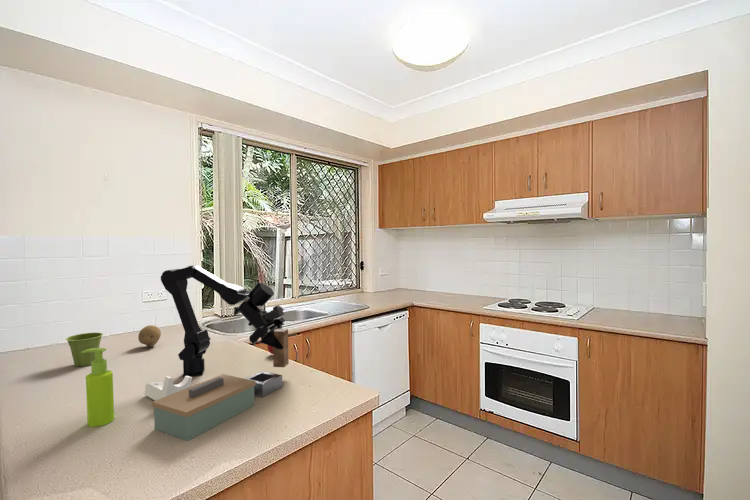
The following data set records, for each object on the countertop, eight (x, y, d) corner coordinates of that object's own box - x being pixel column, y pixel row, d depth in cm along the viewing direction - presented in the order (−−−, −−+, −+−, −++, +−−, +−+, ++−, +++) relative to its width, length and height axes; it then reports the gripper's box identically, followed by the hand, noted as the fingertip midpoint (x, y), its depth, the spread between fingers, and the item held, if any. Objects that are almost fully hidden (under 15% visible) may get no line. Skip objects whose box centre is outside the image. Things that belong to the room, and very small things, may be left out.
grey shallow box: (241, 392, 123) (241, 379, 123) (262, 382, 131) (261, 371, 131) (262, 397, 119) (262, 384, 119) (282, 387, 127) (282, 375, 127)
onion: (278, 357, 159) (277, 338, 159) (265, 356, 160) (264, 337, 160) (284, 353, 165) (283, 334, 164) (271, 352, 166) (271, 334, 166)
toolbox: (152, 429, 100) (151, 394, 99) (236, 390, 124) (235, 362, 124) (187, 441, 93) (186, 404, 93) (268, 398, 118) (267, 368, 118)
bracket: (186, 402, 118) (192, 377, 120) (163, 404, 113) (169, 378, 114) (166, 392, 126) (172, 369, 128) (144, 394, 121) (149, 369, 122)
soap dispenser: (92, 417, 107) (90, 346, 106) (118, 416, 108) (116, 345, 107) (78, 427, 101) (75, 352, 100) (105, 426, 102) (103, 351, 101)
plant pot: (59, 367, 150) (58, 338, 150) (92, 358, 161) (91, 331, 161) (79, 370, 146) (78, 341, 146) (110, 361, 157) (109, 333, 156)
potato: (153, 349, 172) (153, 327, 172) (134, 350, 172) (133, 327, 172) (165, 344, 181) (164, 323, 181) (146, 344, 181) (145, 323, 181)
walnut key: (273, 366, 134) (272, 331, 134) (278, 363, 138) (277, 328, 138) (284, 367, 134) (283, 331, 133) (288, 363, 137) (288, 328, 137)
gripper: (257, 304, 126) (289, 338, 125) (279, 295, 145) (308, 325, 144) (235, 327, 128) (267, 361, 127) (260, 315, 146) (288, 345, 145)
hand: (284, 346), depth 135 cm, fingers closed on walnut key, 4 cm apart
